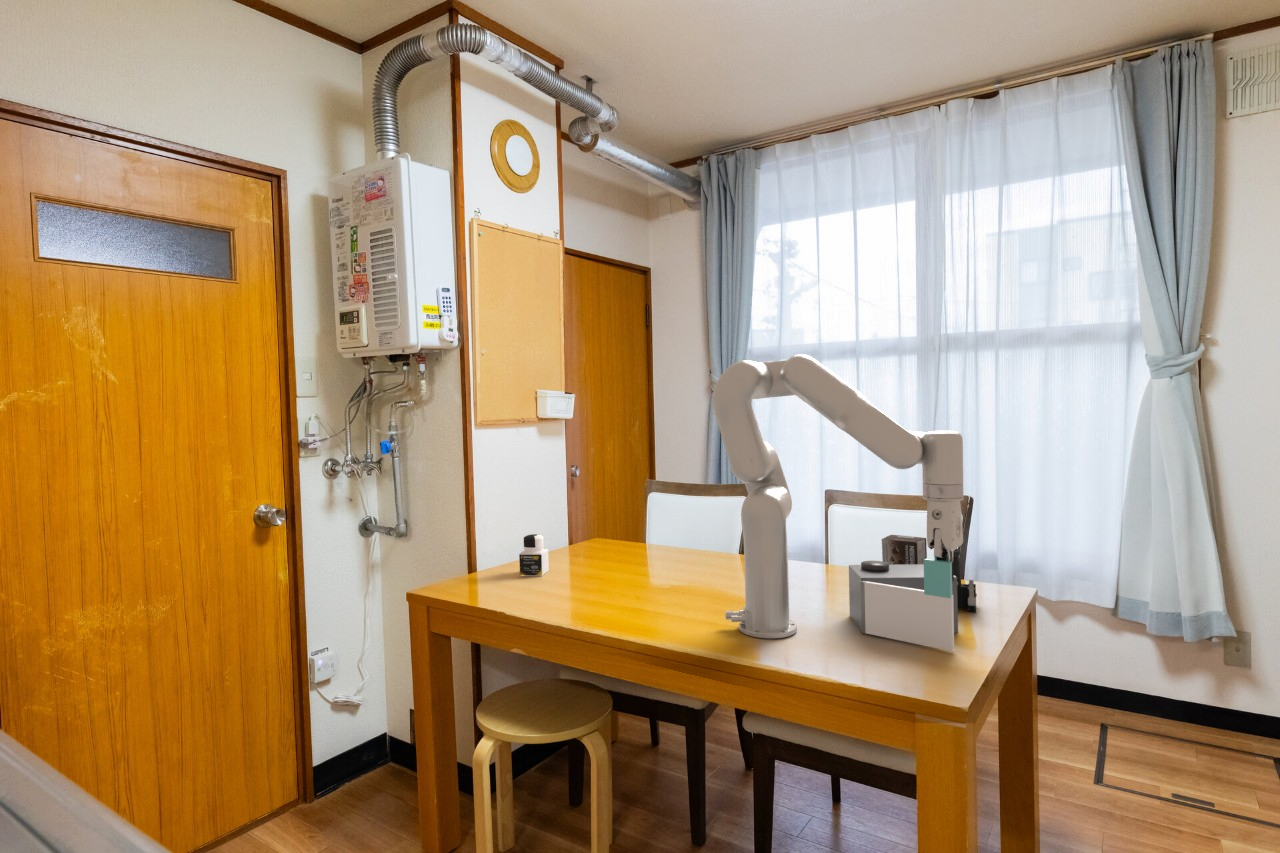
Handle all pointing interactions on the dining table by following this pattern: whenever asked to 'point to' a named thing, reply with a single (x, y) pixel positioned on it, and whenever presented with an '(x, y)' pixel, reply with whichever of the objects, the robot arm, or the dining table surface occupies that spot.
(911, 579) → the plain gray box
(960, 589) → the scope
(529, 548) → the medicine bottle
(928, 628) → the side door
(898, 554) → the coffee box
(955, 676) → the dining table surface
